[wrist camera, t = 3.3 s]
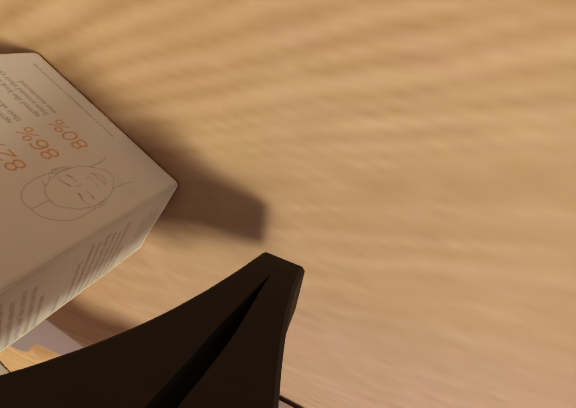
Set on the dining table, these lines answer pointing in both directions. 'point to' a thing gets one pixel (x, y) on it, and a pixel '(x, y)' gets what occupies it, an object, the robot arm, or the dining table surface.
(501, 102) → the dining table surface
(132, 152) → the small box
